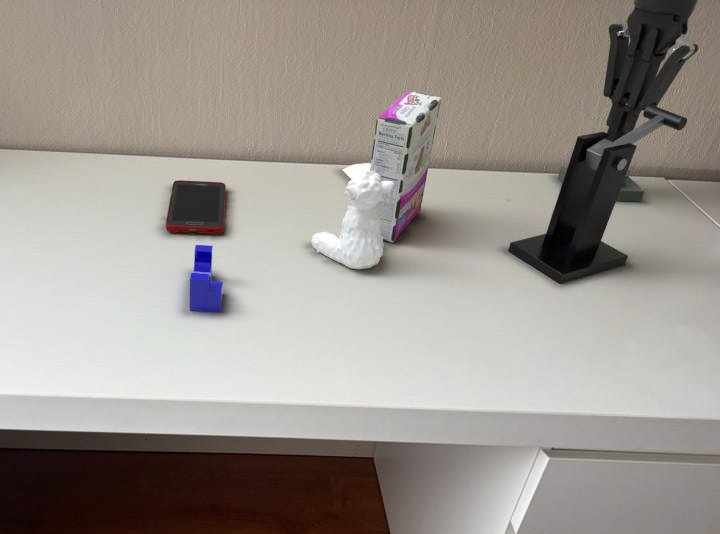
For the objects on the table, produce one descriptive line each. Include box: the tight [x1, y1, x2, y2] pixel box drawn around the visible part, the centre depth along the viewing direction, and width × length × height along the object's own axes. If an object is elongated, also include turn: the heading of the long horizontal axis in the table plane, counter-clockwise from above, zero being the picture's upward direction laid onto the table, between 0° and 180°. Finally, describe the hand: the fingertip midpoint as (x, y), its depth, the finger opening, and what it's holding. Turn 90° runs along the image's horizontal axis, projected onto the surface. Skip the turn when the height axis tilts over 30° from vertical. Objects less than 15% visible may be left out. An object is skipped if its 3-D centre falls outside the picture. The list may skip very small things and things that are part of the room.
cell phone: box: [165, 179, 227, 235], centre depth 104 cm, size 8×15×1 cm, turn 0°
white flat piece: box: [342, 162, 371, 180], centre depth 112 cm, size 5×15×1 cm, turn 16°
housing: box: [557, 167, 645, 203], centre depth 116 cm, size 10×8×4 cm
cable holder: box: [189, 244, 224, 313], centre depth 86 cm, size 8×4×4 cm, turn 178°
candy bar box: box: [370, 90, 442, 244], centre depth 99 cm, size 11×5×16 cm, turn 150°
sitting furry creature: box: [311, 171, 394, 270], centre depth 92 cm, size 10×9×12 cm
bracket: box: [507, 131, 637, 284], centre depth 94 cm, size 12×9×16 cm
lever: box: [586, 105, 688, 171], centre depth 91 cm, size 12×5×2 cm, turn 118°
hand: (610, 150), depth 113 cm, fingers closed
